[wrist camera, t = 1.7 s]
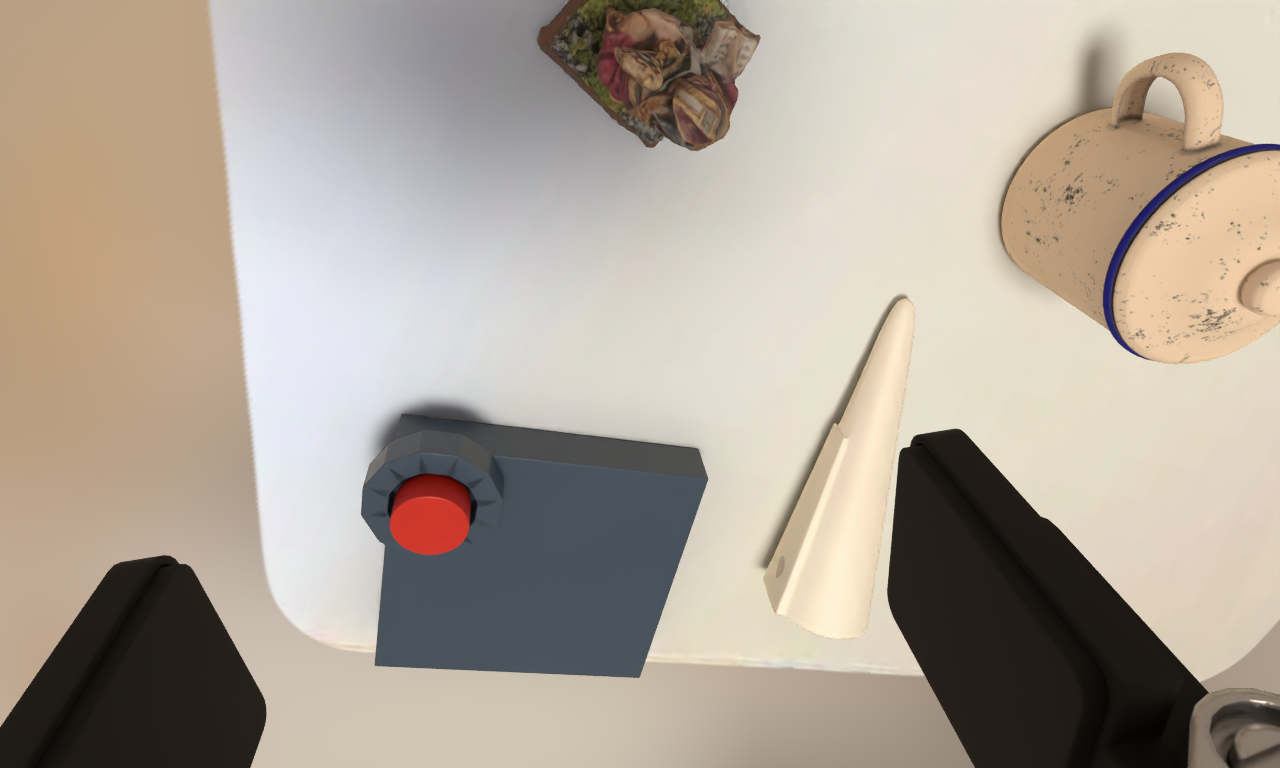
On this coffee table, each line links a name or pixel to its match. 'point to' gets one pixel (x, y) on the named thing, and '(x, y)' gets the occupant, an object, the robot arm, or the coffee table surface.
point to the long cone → (846, 499)
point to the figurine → (655, 64)
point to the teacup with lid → (1154, 220)
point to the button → (431, 514)
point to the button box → (533, 549)
